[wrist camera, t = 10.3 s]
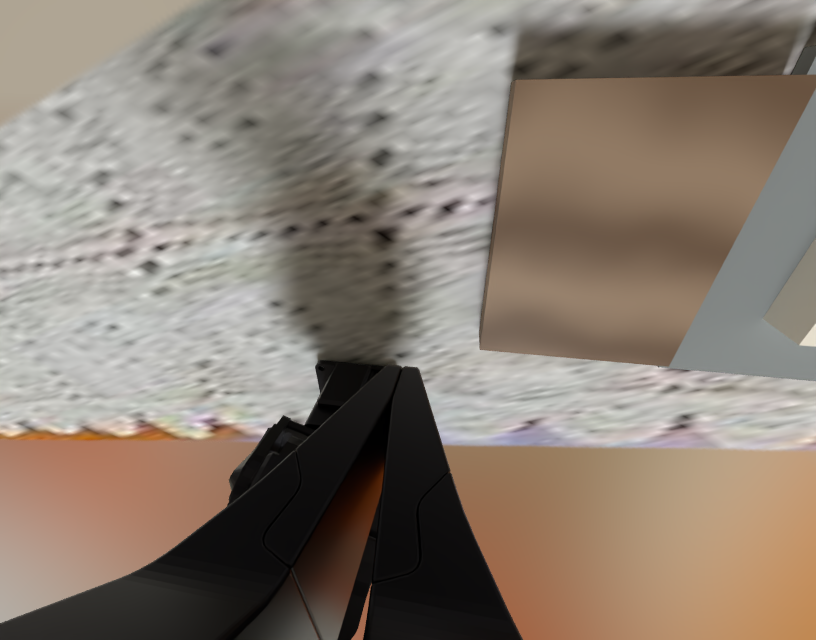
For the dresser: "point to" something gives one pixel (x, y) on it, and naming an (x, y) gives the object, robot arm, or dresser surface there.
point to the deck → (625, 207)
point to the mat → (762, 269)
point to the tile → (797, 303)
